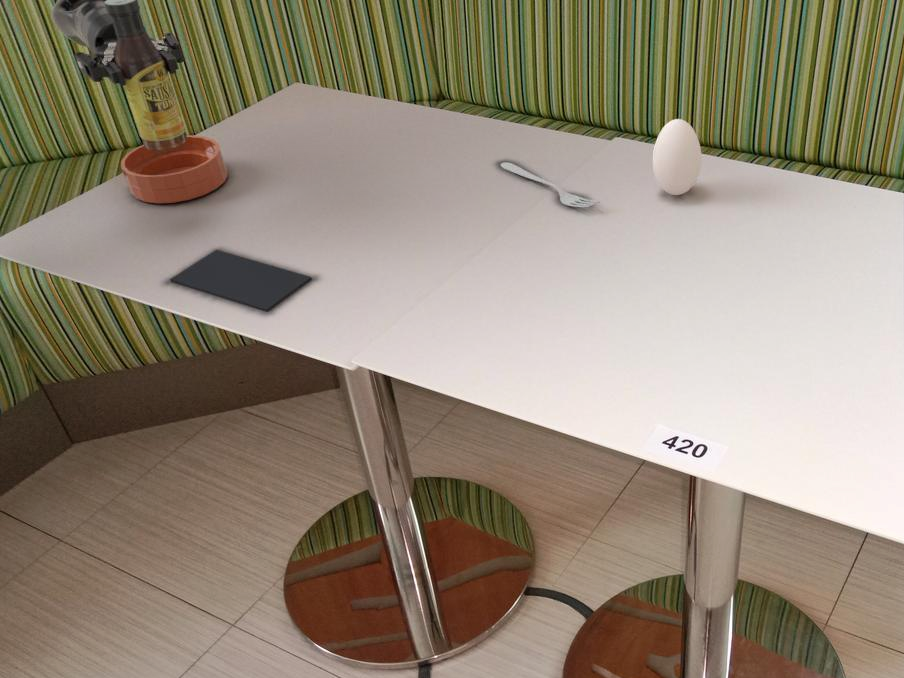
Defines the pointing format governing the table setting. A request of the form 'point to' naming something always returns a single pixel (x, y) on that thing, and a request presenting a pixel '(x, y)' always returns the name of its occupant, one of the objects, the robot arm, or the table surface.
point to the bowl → (175, 171)
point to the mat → (241, 280)
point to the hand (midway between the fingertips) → (146, 72)
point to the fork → (564, 196)
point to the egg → (676, 157)
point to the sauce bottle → (145, 80)
